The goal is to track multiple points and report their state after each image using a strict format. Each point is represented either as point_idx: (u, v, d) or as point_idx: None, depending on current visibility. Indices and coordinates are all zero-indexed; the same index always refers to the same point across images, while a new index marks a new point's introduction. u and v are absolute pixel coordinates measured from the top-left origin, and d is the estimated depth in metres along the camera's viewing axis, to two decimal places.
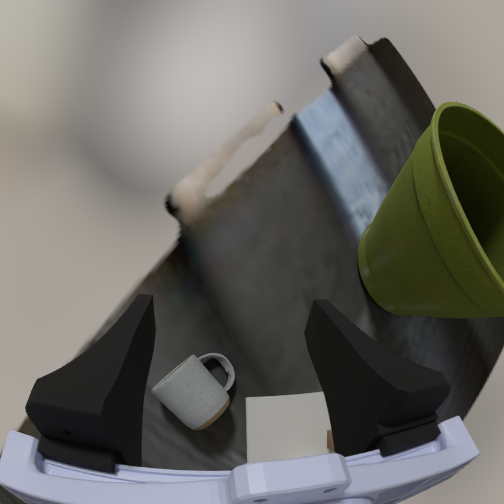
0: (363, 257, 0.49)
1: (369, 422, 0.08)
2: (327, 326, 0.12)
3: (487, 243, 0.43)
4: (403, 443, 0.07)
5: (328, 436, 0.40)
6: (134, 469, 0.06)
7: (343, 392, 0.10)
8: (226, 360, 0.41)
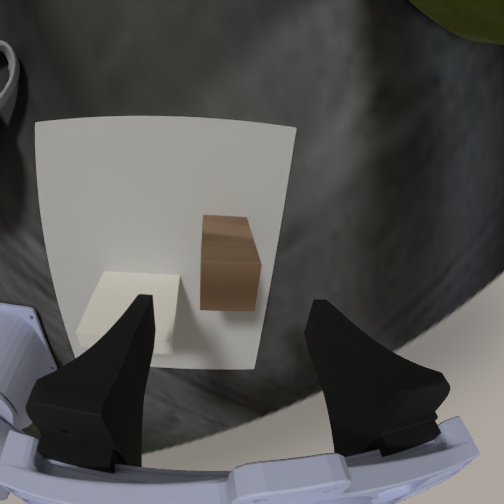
0: None
1: (369, 422, 0.08)
2: (327, 326, 0.12)
3: None
4: (403, 443, 0.07)
5: None
6: (134, 469, 0.06)
7: (343, 392, 0.10)
8: (8, 48, 0.12)
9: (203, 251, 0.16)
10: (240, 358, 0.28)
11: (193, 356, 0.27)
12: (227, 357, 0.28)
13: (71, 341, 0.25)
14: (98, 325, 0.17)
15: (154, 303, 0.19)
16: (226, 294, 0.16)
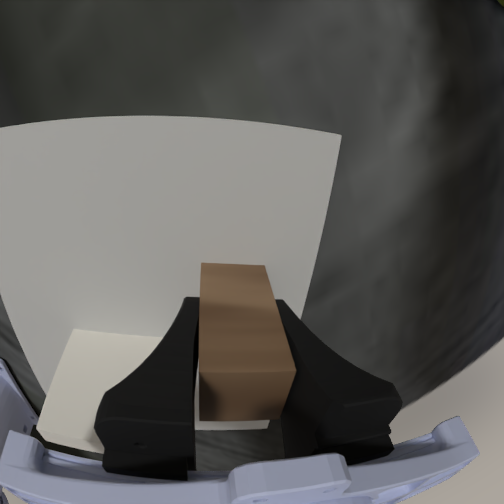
0: None
1: (310, 432, 0.08)
2: None
3: None
4: (346, 458, 0.07)
5: None
6: (208, 474, 0.07)
7: (291, 397, 0.10)
8: None
9: (201, 345, 0.10)
10: None
11: None
12: None
13: None
14: (63, 420, 0.10)
15: None
16: (238, 405, 0.10)
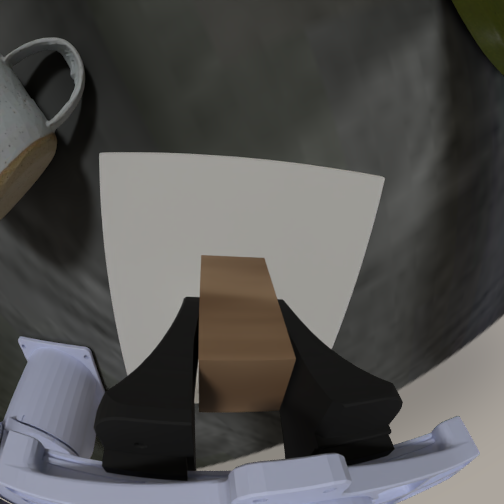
0: None
1: (309, 432, 0.08)
2: None
3: None
4: (346, 458, 0.07)
5: None
6: (208, 474, 0.07)
7: (291, 397, 0.10)
8: (70, 49, 0.12)
9: (201, 333, 0.10)
10: None
11: None
12: None
13: None
14: None
15: None
16: (238, 395, 0.10)
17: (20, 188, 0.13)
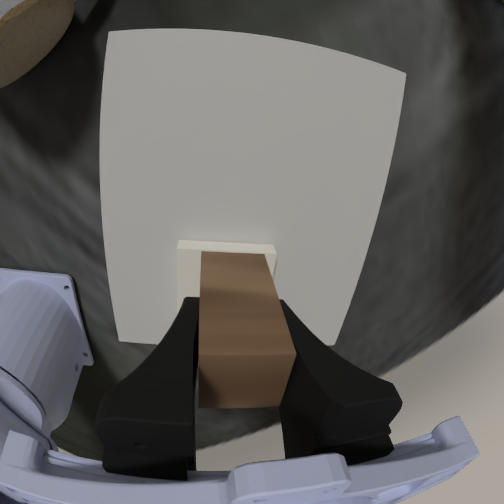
0: None
1: (309, 432, 0.08)
2: None
3: None
4: (346, 458, 0.07)
5: None
6: (208, 474, 0.07)
7: (290, 397, 0.10)
8: None
9: (201, 328, 0.10)
10: (323, 332, 0.24)
11: None
12: None
13: (117, 318, 0.21)
14: None
15: None
16: (238, 391, 0.10)
17: (26, 51, 0.10)
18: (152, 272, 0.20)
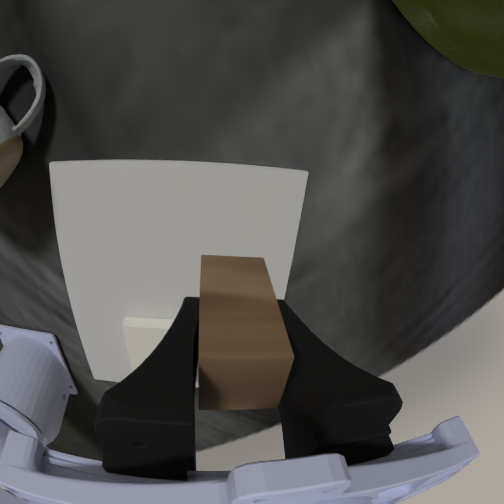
0: None
1: (309, 432, 0.08)
2: None
3: None
4: (346, 458, 0.07)
5: None
6: (208, 474, 0.07)
7: (291, 397, 0.10)
8: (32, 64, 0.13)
9: (201, 332, 0.10)
10: None
11: None
12: None
13: (90, 364, 0.26)
14: None
15: None
16: (238, 393, 0.10)
17: None
18: (110, 336, 0.25)
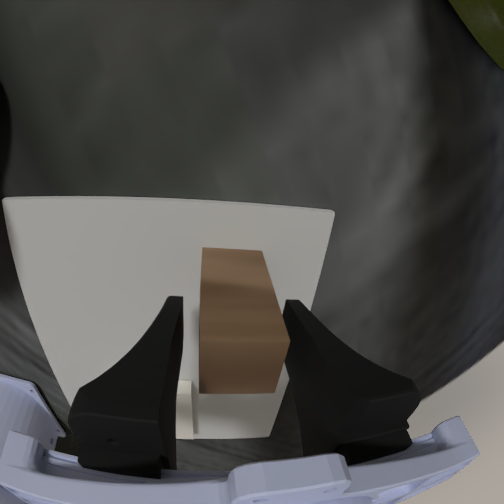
0: None
1: (332, 429, 0.08)
2: (296, 327, 0.12)
3: None
4: (368, 453, 0.07)
5: None
6: (181, 473, 0.07)
7: (310, 396, 0.10)
8: None
9: (202, 317, 0.11)
10: (255, 430, 0.24)
11: (206, 430, 0.24)
12: (241, 429, 0.24)
13: None
14: None
15: None
16: (236, 377, 0.11)
17: None
18: None
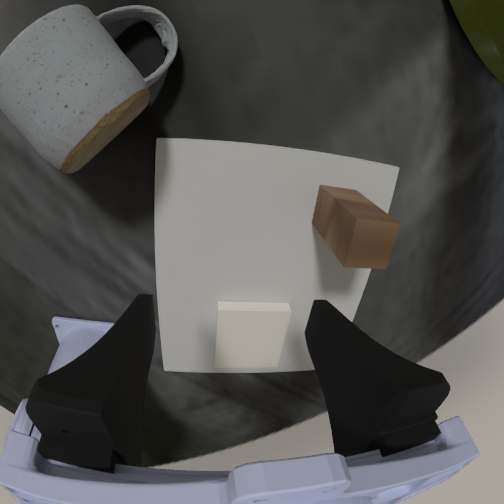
0: None
1: (369, 422, 0.08)
2: (327, 326, 0.12)
3: None
4: (403, 443, 0.07)
5: (319, 198, 0.22)
6: (134, 469, 0.06)
7: (343, 392, 0.10)
8: (164, 19, 0.14)
9: (350, 211, 0.17)
10: None
11: (284, 360, 0.30)
12: None
13: (164, 354, 0.28)
14: (228, 362, 0.27)
15: (267, 342, 0.27)
16: (369, 251, 0.17)
17: (107, 138, 0.16)
18: (195, 323, 0.26)
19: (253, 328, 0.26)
